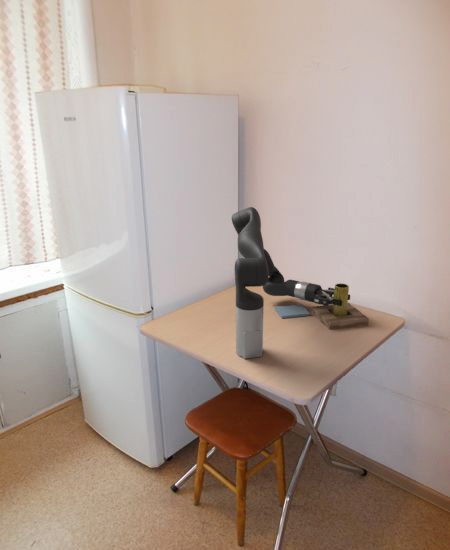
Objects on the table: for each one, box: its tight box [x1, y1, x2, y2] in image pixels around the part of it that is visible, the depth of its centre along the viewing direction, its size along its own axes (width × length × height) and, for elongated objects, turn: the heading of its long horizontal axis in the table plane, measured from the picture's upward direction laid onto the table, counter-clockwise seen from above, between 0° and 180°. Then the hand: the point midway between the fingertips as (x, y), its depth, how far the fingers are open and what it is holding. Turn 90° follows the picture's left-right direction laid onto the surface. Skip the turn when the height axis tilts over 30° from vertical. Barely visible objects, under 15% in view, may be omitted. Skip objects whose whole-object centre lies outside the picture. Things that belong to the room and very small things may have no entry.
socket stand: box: [312, 302, 370, 331], centre depth 169 cm, size 16×16×3 cm
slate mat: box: [273, 303, 311, 319], centre depth 176 cm, size 10×12×1 cm
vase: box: [332, 282, 350, 317], centre depth 167 cm, size 6×6×14 cm
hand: (346, 300), depth 165 cm, fingers open, 7 cm apart
